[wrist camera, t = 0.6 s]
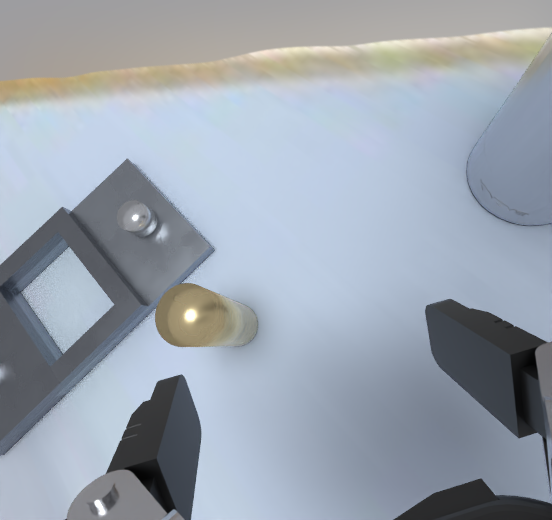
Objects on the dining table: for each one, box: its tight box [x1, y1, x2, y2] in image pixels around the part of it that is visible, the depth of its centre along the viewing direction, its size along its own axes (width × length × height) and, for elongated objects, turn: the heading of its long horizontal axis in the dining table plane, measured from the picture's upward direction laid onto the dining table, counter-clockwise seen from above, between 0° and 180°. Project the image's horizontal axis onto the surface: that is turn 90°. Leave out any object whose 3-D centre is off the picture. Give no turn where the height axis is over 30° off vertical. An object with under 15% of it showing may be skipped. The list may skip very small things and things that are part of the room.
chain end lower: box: [10, 159, 214, 396], centre depth 33 cm, size 18×13×3 cm
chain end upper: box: [0, 207, 148, 456], centre depth 32 cm, size 18×13×4 cm
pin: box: [155, 283, 258, 347], centre depth 26 cm, size 4×4×11 cm
